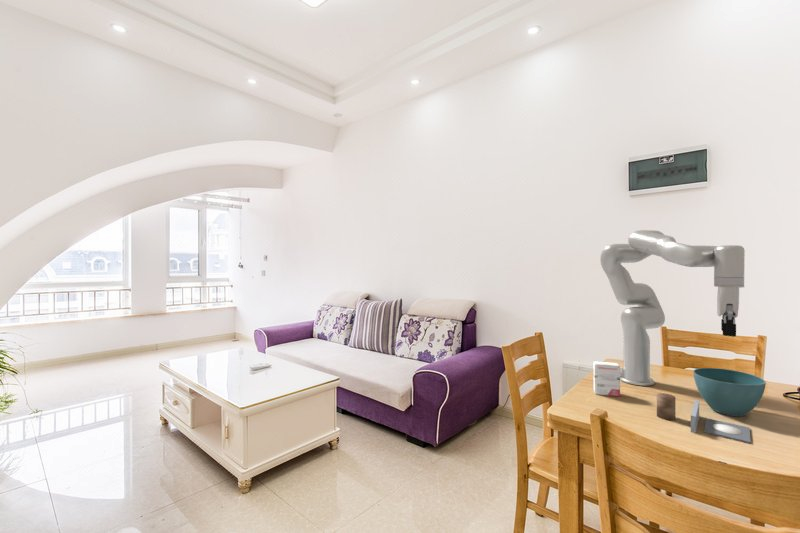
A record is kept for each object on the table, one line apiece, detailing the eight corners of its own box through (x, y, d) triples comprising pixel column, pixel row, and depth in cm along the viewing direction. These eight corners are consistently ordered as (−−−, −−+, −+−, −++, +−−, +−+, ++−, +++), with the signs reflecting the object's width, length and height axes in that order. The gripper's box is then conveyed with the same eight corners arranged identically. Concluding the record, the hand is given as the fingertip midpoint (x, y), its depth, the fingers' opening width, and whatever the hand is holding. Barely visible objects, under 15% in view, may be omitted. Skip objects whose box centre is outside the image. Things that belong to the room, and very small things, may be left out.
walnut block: (655, 417, 120) (655, 396, 120) (657, 412, 124) (657, 392, 124) (674, 421, 117) (674, 400, 117) (676, 416, 121) (676, 395, 121)
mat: (704, 432, 109) (704, 430, 109) (706, 419, 118) (706, 417, 118) (750, 443, 103) (750, 441, 103) (749, 429, 112) (749, 427, 112)
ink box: (617, 392, 143) (617, 362, 143) (620, 396, 138) (620, 365, 138) (592, 390, 146) (592, 360, 146) (595, 394, 141) (595, 363, 141)
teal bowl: (773, 428, 112) (773, 388, 112) (697, 415, 122) (697, 378, 121) (756, 407, 127) (756, 372, 127) (689, 397, 137) (689, 365, 137)
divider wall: (690, 431, 110) (690, 415, 110) (694, 415, 122) (694, 400, 122) (695, 433, 109) (695, 416, 109) (699, 416, 121) (699, 400, 121)
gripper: (713, 280, 131) (712, 328, 131) (714, 283, 118) (714, 336, 118) (741, 281, 126) (741, 330, 127) (746, 284, 113) (746, 339, 113)
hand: (728, 333), depth 122 cm, fingers open, 9 cm apart
